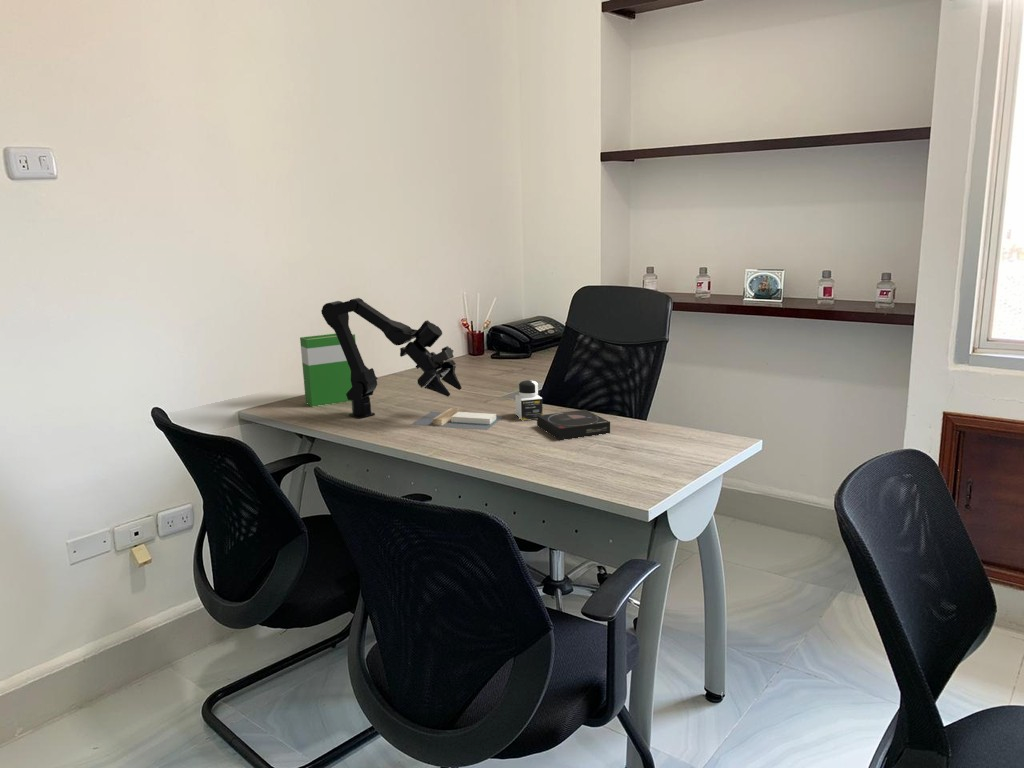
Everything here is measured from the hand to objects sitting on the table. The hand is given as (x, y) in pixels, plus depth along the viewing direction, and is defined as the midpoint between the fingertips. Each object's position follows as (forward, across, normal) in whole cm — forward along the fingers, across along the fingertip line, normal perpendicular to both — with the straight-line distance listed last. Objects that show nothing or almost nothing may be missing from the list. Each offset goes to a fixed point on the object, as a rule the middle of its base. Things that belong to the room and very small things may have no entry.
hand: (455, 392), depth 244 cm
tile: (+10, 0, +2) cm, 10 cm away
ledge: (+4, 0, +9) cm, 10 cm away
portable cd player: (+34, 0, -20) cm, 40 cm away
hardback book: (-32, +15, +46) cm, 58 cm away
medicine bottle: (+22, +10, -8) cm, 26 cm away
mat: (+7, 0, +6) cm, 10 cm away
